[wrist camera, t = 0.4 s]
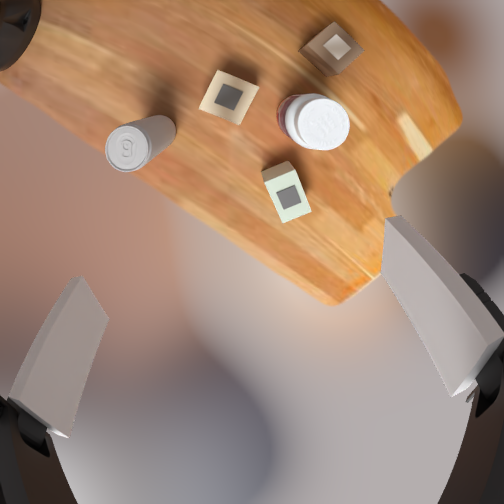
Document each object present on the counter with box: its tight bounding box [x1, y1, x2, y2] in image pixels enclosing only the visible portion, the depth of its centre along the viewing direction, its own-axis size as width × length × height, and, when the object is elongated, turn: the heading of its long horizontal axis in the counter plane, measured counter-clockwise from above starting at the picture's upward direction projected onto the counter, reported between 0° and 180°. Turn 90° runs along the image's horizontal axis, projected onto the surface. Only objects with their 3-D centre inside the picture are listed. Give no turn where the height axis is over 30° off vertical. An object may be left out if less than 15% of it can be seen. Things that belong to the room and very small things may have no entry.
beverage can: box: [105, 115, 176, 172], centre depth 27 cm, size 5×5×12 cm
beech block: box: [199, 70, 259, 125], centre depth 29 cm, size 5×5×5 cm
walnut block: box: [298, 21, 365, 77], centre depth 25 cm, size 5×5×5 cm
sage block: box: [261, 161, 312, 223], centre depth 35 cm, size 6×4×5 cm, turn 24°
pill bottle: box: [276, 93, 350, 150], centre depth 27 cm, size 6×6×11 cm
